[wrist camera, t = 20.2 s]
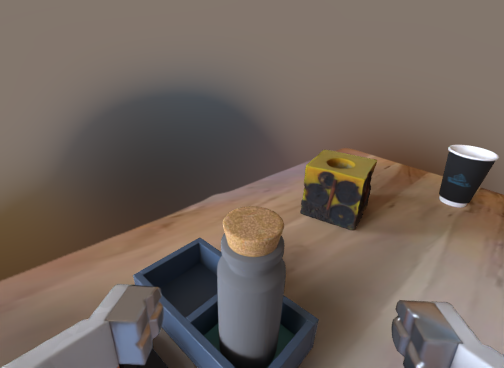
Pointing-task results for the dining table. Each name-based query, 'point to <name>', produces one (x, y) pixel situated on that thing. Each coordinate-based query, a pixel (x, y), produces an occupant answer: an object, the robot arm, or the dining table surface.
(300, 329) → the tray
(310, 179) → the candle
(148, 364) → the control block
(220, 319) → the bottle
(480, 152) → the dixie cup
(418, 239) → the dining table surface
